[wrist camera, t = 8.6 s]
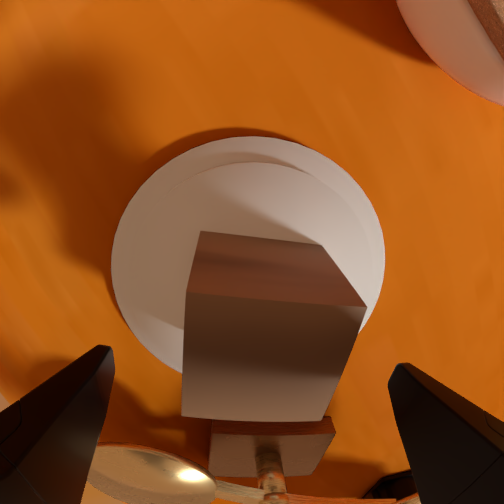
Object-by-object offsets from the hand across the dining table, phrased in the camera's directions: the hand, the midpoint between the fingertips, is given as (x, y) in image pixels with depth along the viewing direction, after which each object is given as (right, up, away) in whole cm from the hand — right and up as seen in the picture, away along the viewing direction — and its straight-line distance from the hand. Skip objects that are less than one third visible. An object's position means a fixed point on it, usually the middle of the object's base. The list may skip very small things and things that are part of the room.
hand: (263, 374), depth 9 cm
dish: (0, +2, +6) cm, 7 cm away
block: (0, +2, +5) cm, 5 cm away
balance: (+1, -10, +11) cm, 15 cm away
